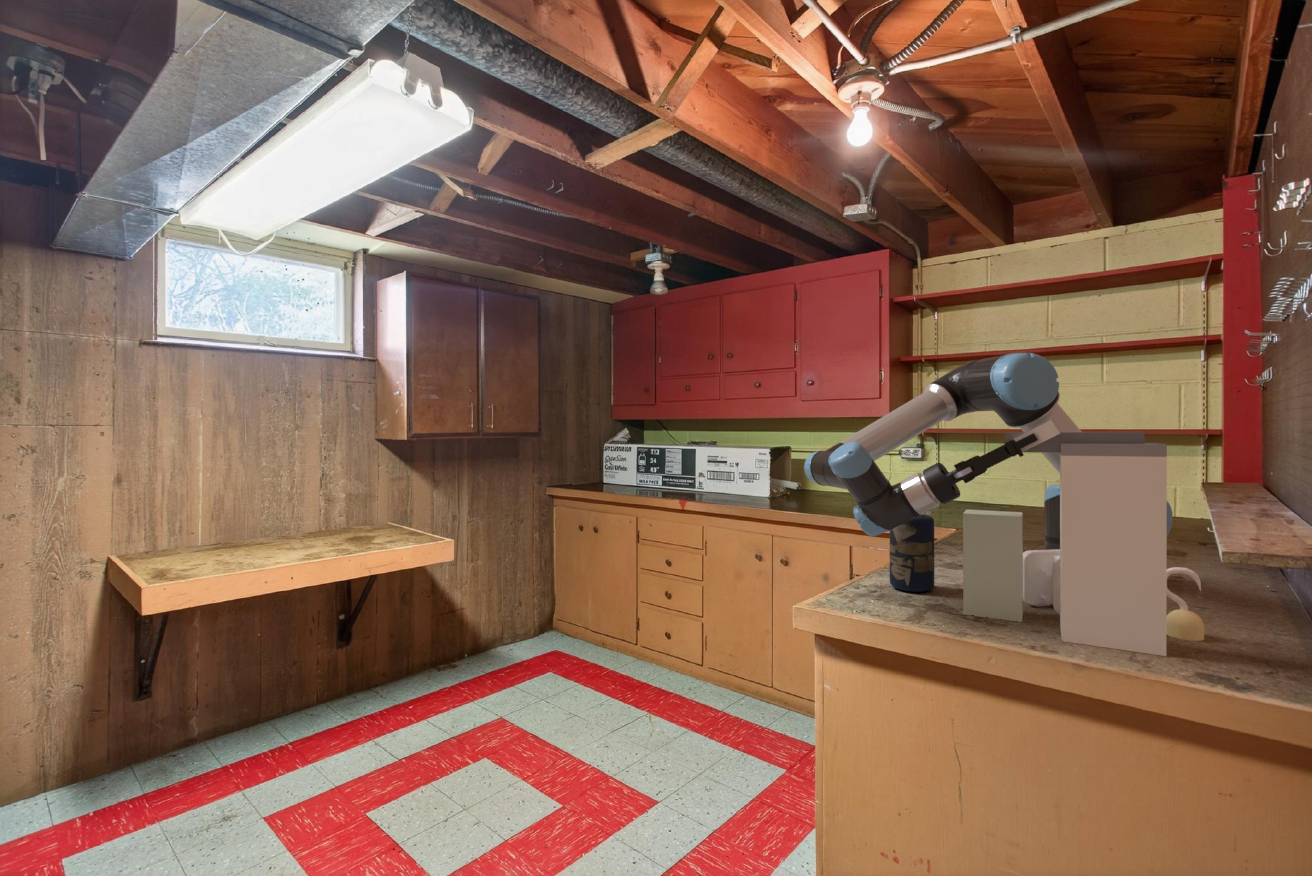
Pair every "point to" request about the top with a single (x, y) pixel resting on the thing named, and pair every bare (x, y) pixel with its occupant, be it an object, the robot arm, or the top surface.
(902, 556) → the canister
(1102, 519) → the socket tower
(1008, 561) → the shelf
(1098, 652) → the top surface
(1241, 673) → the top surface
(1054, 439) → the bar
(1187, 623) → the hook
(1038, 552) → the cable organizer
